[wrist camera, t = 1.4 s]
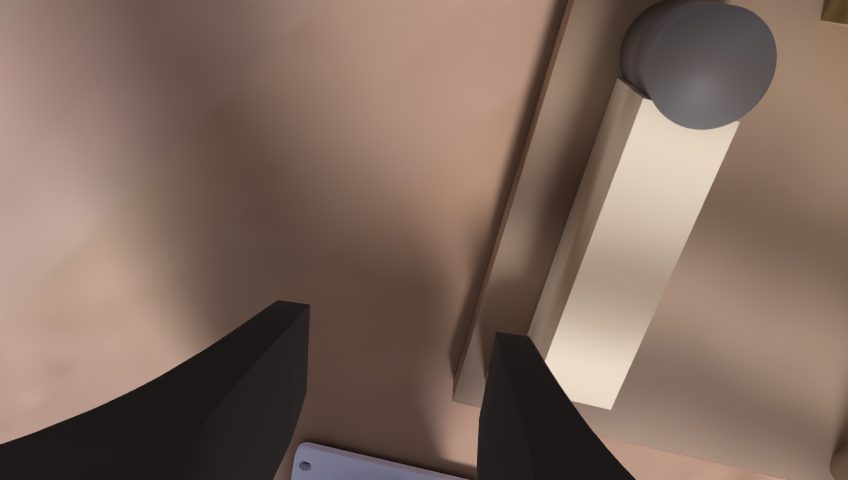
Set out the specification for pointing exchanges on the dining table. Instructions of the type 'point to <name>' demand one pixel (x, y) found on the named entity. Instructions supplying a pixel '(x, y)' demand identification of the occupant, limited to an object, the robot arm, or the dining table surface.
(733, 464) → the stool seat
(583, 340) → the leg bar
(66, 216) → the dining table surface
